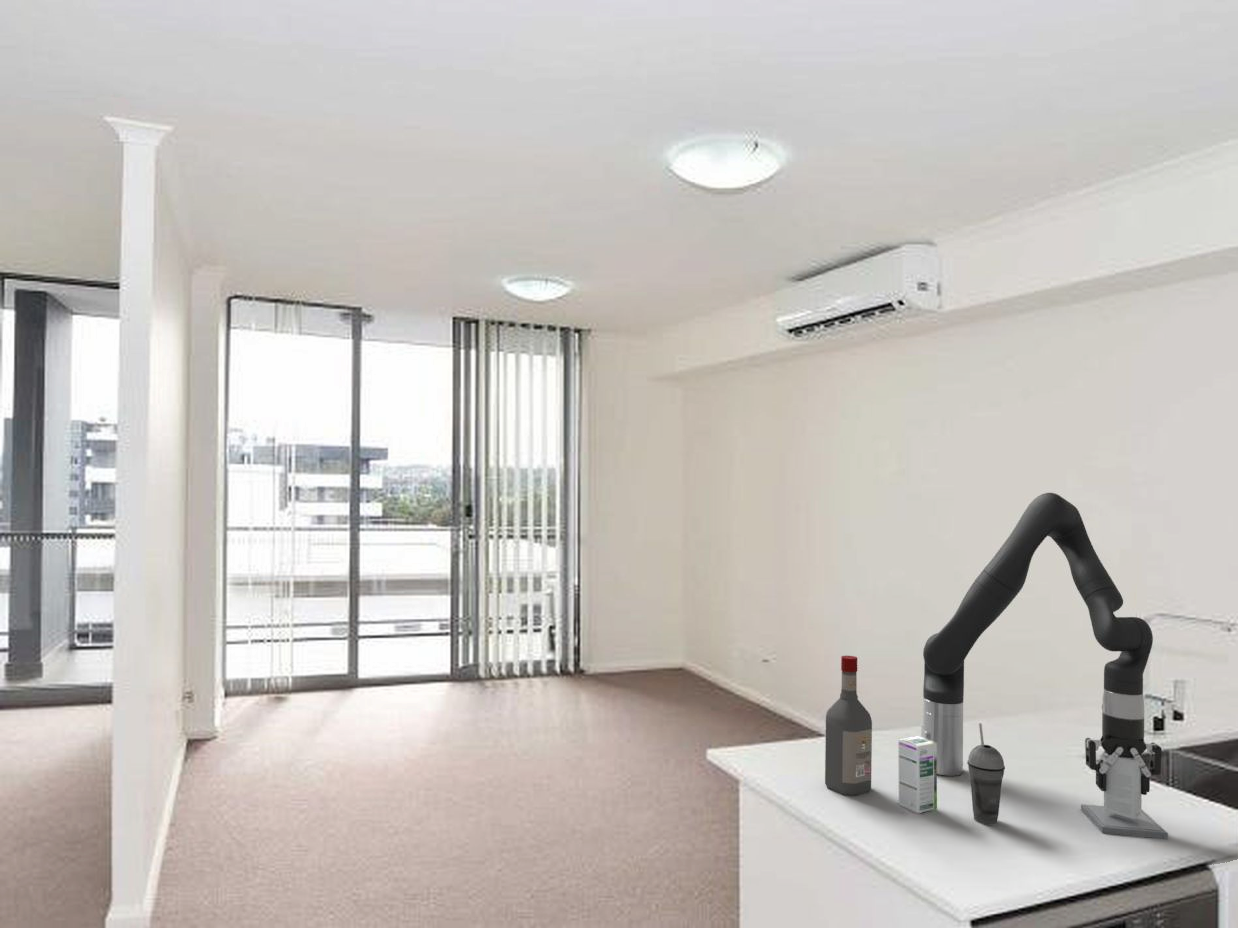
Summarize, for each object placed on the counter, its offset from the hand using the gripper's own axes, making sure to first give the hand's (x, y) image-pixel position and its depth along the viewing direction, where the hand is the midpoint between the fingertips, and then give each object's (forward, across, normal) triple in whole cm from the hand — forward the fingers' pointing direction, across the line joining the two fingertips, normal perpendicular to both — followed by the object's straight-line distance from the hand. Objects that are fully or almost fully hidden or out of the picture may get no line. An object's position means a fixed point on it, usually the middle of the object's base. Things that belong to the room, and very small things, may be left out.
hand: (1122, 791), depth 171 cm
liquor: (+7, -55, +7) cm, 56 cm away
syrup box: (+7, -41, -1) cm, 42 cm away
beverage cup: (+7, -28, -5) cm, 29 cm away
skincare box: (+5, 0, 0) cm, 5 cm away
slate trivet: (+7, 0, 0) cm, 7 cm away
